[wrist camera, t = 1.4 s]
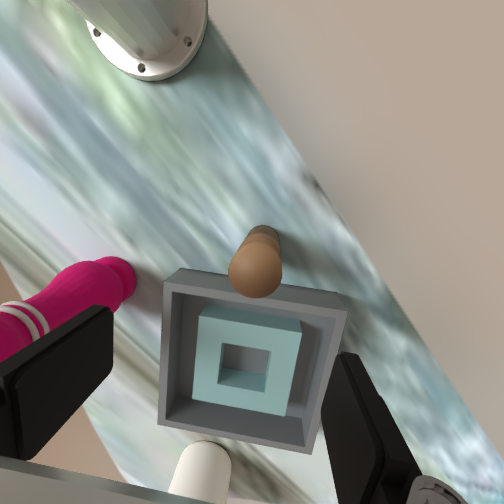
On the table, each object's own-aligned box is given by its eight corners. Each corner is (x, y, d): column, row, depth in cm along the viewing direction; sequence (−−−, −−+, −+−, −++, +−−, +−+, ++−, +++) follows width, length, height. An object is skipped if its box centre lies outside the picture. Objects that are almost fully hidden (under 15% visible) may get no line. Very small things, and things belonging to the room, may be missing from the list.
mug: (191, 494, 41) (165, 591, 31) (156, 464, 40) (117, 554, 30) (243, 463, 38) (231, 559, 28) (207, 430, 37) (182, 516, 27)
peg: (248, 223, 29) (231, 243, 17) (281, 227, 29) (286, 251, 17) (244, 254, 30) (225, 294, 18) (276, 259, 30) (277, 302, 18)
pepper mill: (147, 266, 32) (-54, 381, 12) (132, 311, 33) (-64, 473, 14) (96, 243, 32) (-187, 324, 12) (84, 290, 33) (-179, 424, 14)
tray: (180, 267, 31) (163, 281, 26) (336, 292, 30) (348, 311, 25) (173, 393, 36) (157, 424, 31) (306, 418, 35) (311, 454, 30)
